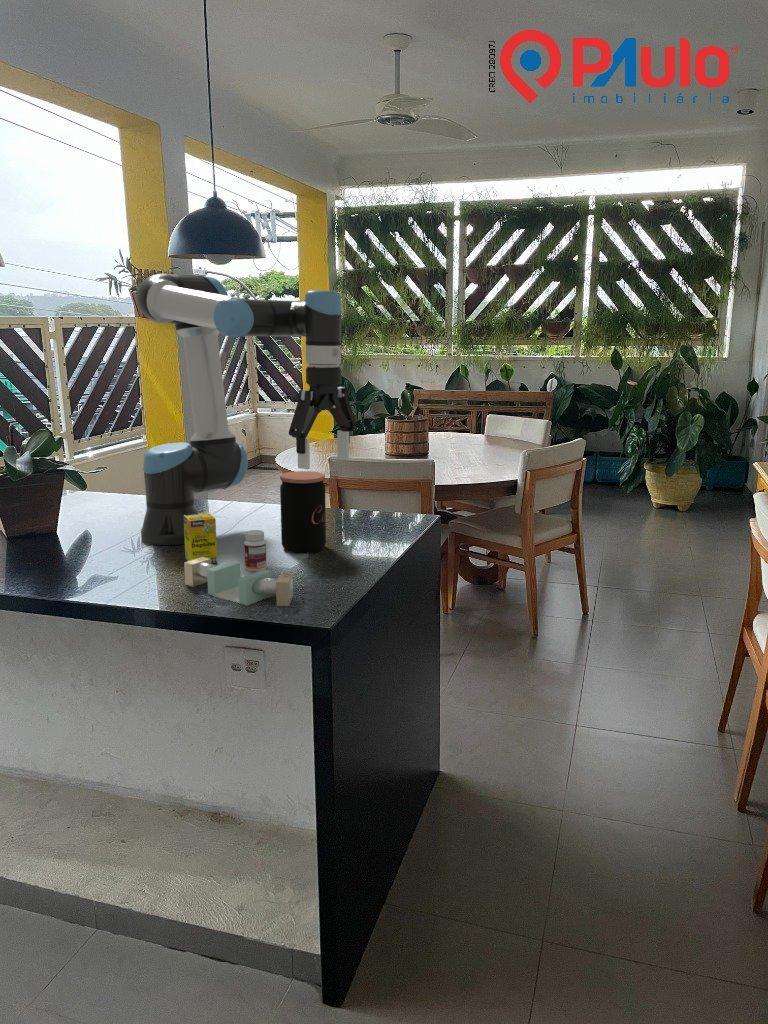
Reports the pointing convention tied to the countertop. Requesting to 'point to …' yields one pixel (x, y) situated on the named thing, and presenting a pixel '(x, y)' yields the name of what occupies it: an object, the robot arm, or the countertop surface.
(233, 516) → the countertop surface
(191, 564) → the shaft
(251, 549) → the pill bottle
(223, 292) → the robot arm
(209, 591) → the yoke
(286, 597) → the shaft
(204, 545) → the supplement box
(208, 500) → the countertop surface
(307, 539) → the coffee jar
